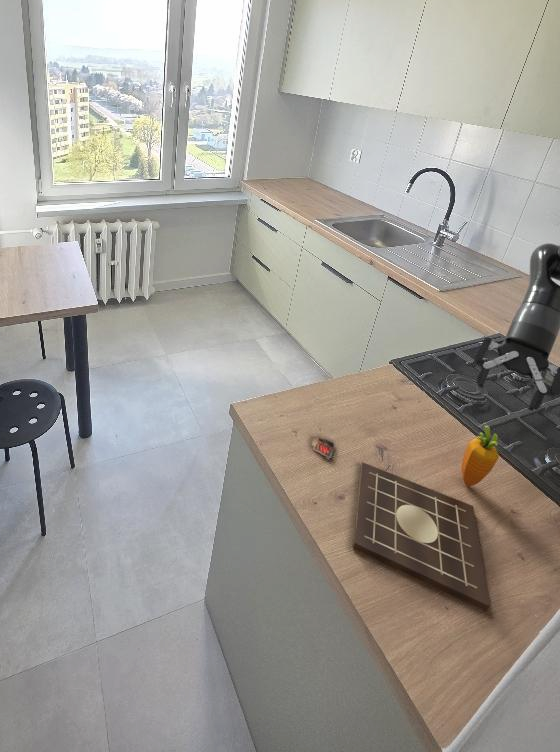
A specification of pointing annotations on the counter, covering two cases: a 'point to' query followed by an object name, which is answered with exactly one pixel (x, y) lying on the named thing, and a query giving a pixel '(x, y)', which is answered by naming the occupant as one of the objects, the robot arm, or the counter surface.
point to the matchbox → (323, 447)
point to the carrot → (479, 458)
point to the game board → (420, 534)
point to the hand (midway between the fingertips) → (504, 397)
